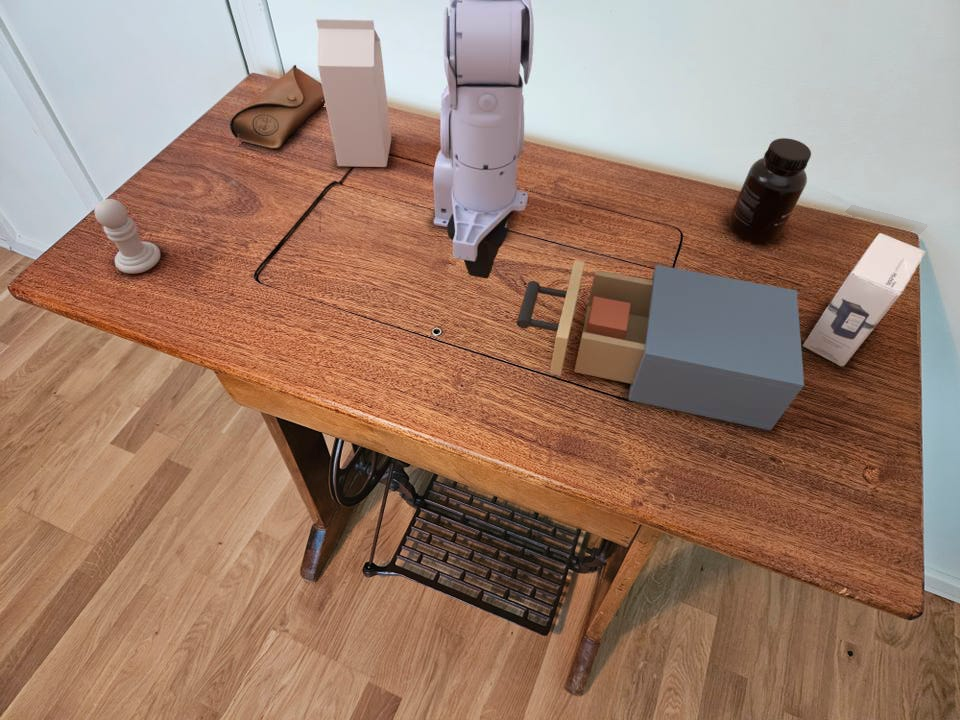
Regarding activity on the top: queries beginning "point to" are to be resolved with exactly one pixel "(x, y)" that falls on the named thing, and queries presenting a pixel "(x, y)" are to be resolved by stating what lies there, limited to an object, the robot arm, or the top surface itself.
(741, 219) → the supplement bottle
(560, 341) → the drawer
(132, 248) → the chess piece
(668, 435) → the top surface
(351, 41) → the milk carton
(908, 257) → the ink box
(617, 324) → the block
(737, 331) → the cabinet
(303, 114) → the sunglasses case
